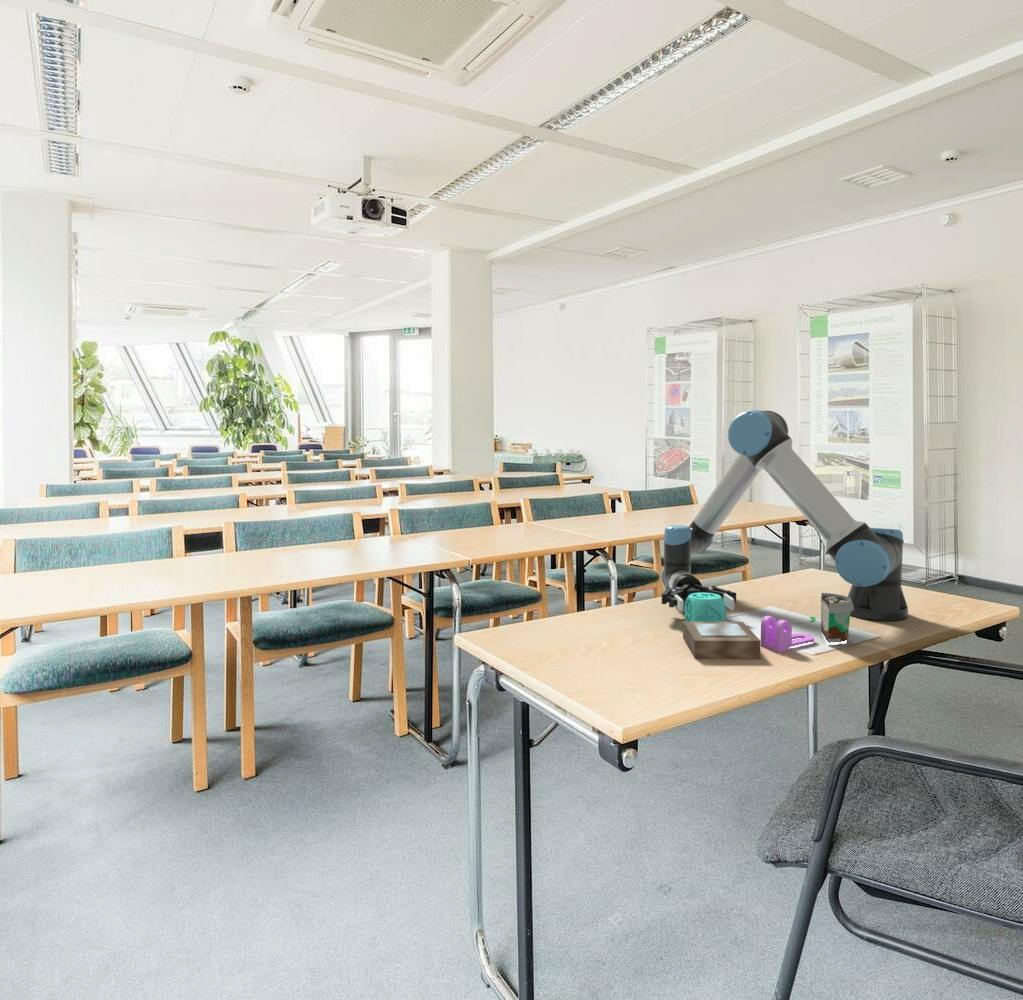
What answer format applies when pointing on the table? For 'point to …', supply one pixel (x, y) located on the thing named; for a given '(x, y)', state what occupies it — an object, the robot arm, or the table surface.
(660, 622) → the table surface
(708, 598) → the decorative dice
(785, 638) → the bracket
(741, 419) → the robot arm
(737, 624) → the plinth
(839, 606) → the food container
